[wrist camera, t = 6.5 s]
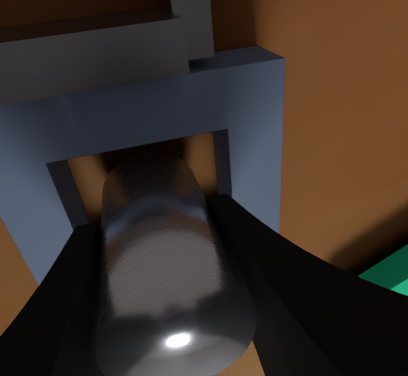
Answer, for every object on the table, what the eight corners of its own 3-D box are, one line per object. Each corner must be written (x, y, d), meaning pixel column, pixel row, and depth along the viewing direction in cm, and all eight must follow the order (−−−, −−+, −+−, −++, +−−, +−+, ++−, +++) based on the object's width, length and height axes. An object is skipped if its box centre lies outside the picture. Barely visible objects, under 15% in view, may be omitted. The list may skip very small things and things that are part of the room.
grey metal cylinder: (204, 218, 13) (260, 362, 8) (118, 241, 13) (123, 407, 8) (188, 140, 11) (250, 266, 6) (88, 165, 11) (68, 320, 6)
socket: (258, 241, 16) (277, 275, 14) (70, 288, 15) (64, 330, 13) (256, 45, 11) (285, 58, 9) (-26, 89, 10) (-57, 113, 8)
